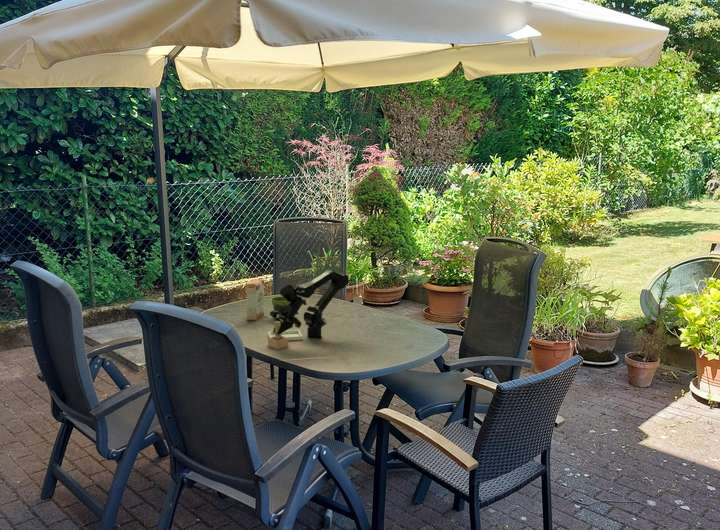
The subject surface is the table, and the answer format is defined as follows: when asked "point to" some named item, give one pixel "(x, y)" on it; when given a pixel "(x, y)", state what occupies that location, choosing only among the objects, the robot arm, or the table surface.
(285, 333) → the tray
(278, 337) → the dowel pin
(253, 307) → the cracker box
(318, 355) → the table surface
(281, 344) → the pin cup
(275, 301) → the plant pot
